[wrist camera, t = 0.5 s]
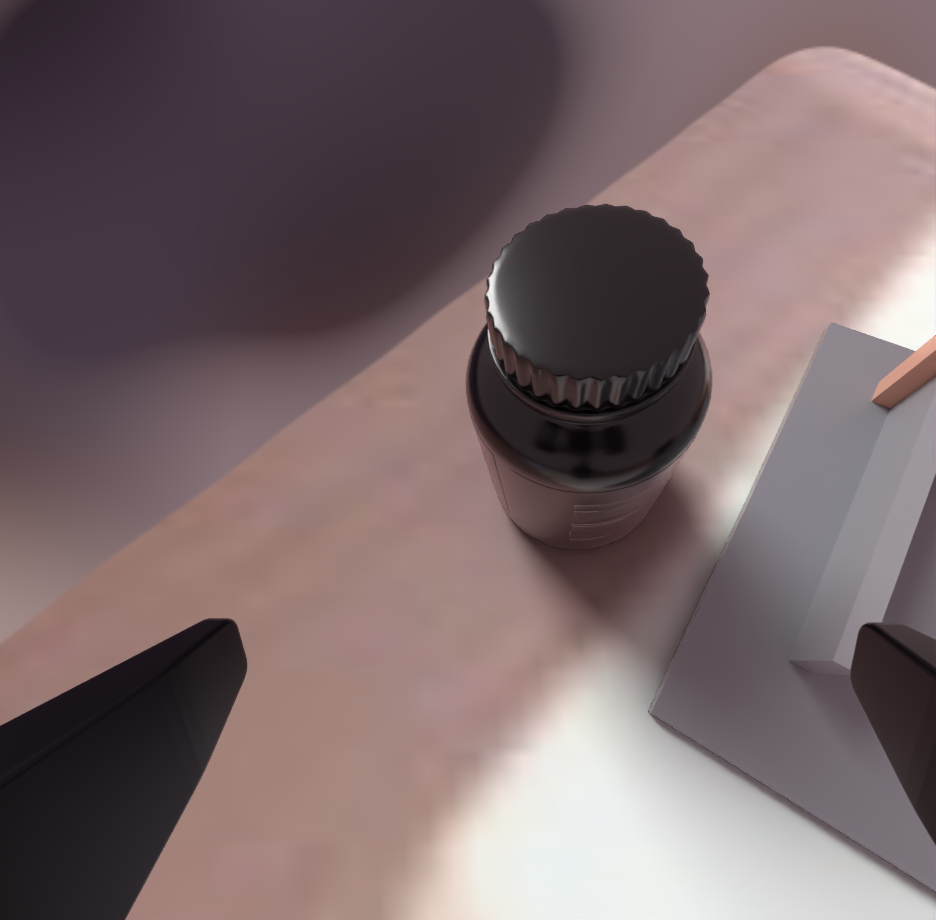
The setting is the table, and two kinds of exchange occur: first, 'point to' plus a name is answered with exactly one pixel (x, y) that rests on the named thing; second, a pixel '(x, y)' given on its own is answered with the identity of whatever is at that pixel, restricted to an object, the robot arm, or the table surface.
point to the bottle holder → (822, 594)
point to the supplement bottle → (589, 371)
